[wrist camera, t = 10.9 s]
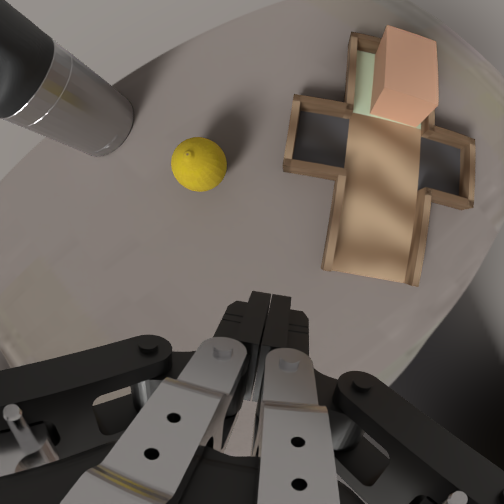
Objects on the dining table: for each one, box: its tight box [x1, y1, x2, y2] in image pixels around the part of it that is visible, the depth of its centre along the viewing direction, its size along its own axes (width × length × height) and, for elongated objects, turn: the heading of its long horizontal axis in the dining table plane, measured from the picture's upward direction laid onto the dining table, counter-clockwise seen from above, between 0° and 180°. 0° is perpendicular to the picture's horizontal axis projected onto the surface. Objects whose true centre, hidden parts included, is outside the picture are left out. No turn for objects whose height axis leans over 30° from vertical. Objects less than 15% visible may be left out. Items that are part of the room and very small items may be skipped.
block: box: [370, 25, 438, 127], centre depth 29 cm, size 9×6×7 cm, turn 168°
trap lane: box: [283, 32, 475, 287], centre depth 32 cm, size 29×22×3 cm
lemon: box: [171, 137, 227, 192], centre depth 32 cm, size 6×6×8 cm
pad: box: [353, 50, 421, 129], centre depth 33 cm, size 10×9×1 cm
